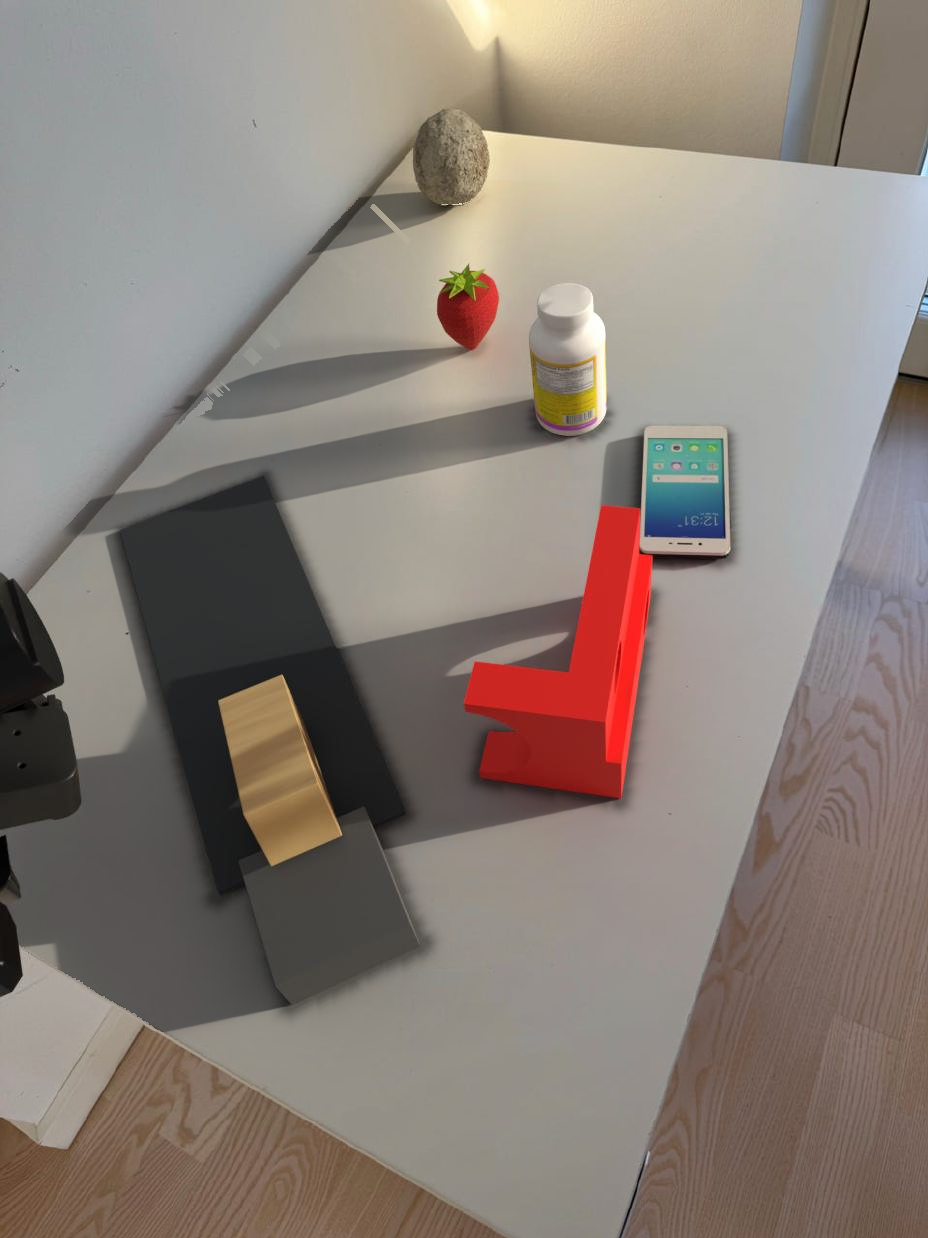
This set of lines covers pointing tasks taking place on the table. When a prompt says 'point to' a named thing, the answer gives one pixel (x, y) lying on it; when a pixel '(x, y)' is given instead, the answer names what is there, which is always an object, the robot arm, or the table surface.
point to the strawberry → (467, 306)
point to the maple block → (277, 771)
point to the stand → (328, 910)
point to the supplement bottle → (568, 361)
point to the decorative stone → (450, 157)
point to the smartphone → (685, 493)
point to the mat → (246, 657)
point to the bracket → (576, 680)
